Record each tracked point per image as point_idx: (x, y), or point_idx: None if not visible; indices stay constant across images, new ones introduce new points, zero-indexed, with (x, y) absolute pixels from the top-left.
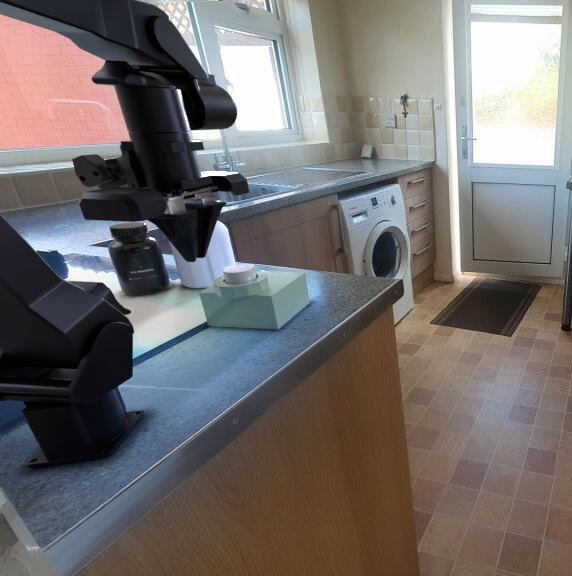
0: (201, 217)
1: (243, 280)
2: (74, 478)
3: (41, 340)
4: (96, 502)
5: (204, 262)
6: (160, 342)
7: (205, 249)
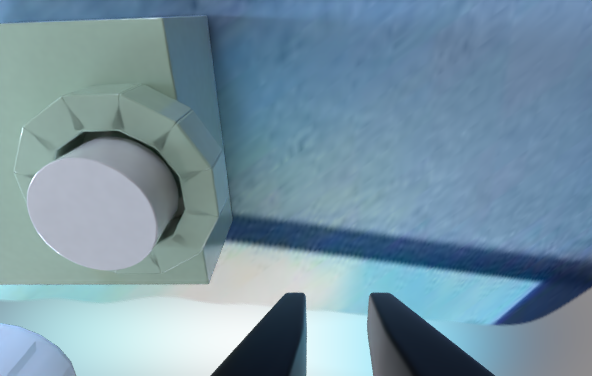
0: None
1: (146, 159)
2: None
3: None
4: None
5: None
6: (321, 262)
7: (291, 318)
